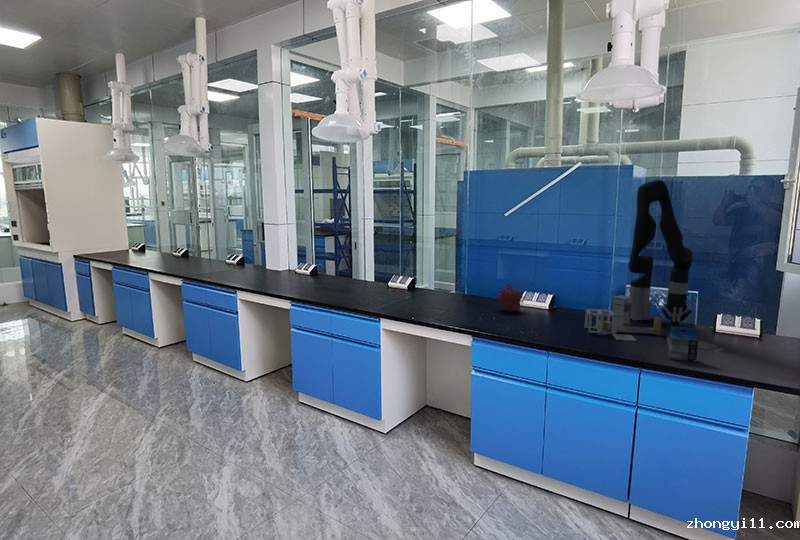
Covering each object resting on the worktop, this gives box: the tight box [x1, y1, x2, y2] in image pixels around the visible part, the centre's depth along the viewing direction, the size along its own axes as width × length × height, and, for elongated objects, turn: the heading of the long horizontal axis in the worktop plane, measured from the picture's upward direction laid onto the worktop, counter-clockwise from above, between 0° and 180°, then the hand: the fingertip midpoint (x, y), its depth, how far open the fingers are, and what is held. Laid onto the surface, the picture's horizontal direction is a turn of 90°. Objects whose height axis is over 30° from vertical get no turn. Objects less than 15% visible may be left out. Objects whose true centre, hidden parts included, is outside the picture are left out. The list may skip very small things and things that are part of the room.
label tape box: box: [667, 325, 699, 362], centre depth 173 cm, size 9×4×12 cm, turn 69°
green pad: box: [611, 333, 637, 342], centre depth 201 cm, size 8×8×1 cm
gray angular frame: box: [584, 308, 618, 335], centre depth 211 cm, size 12×10×10 cm
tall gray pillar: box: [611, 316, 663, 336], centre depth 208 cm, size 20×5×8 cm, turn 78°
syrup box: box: [612, 294, 631, 327], centre depth 222 cm, size 6×6×14 cm
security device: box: [666, 335, 723, 352], centre depth 191 cm, size 17×22×2 cm
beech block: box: [596, 319, 612, 332], centre depth 211 cm, size 5×5×5 cm
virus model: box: [496, 284, 525, 313], centre depth 250 cm, size 15×15×15 cm
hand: (674, 329), depth 205 cm, fingers closed
